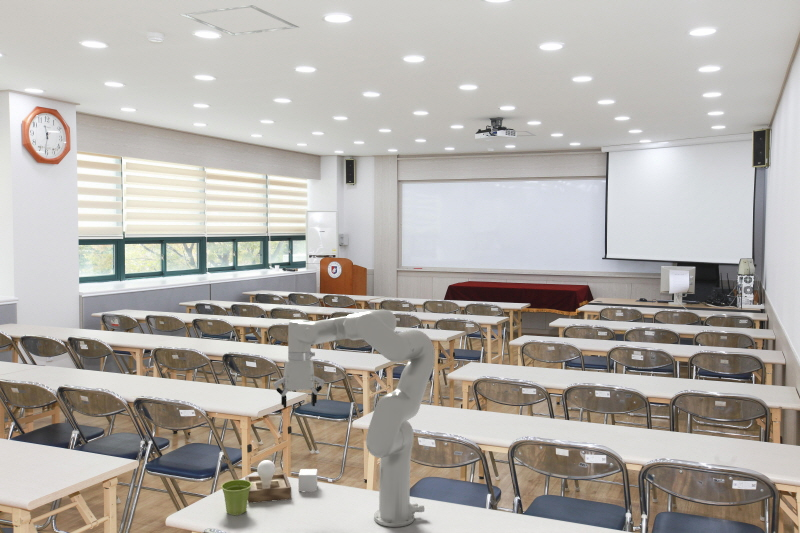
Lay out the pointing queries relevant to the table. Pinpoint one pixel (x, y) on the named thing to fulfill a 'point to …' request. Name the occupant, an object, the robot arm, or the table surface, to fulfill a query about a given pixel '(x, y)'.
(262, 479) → the lightbulb
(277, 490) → the socket box
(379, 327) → the robot arm
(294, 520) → the table surface
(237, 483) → the plant pot
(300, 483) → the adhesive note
